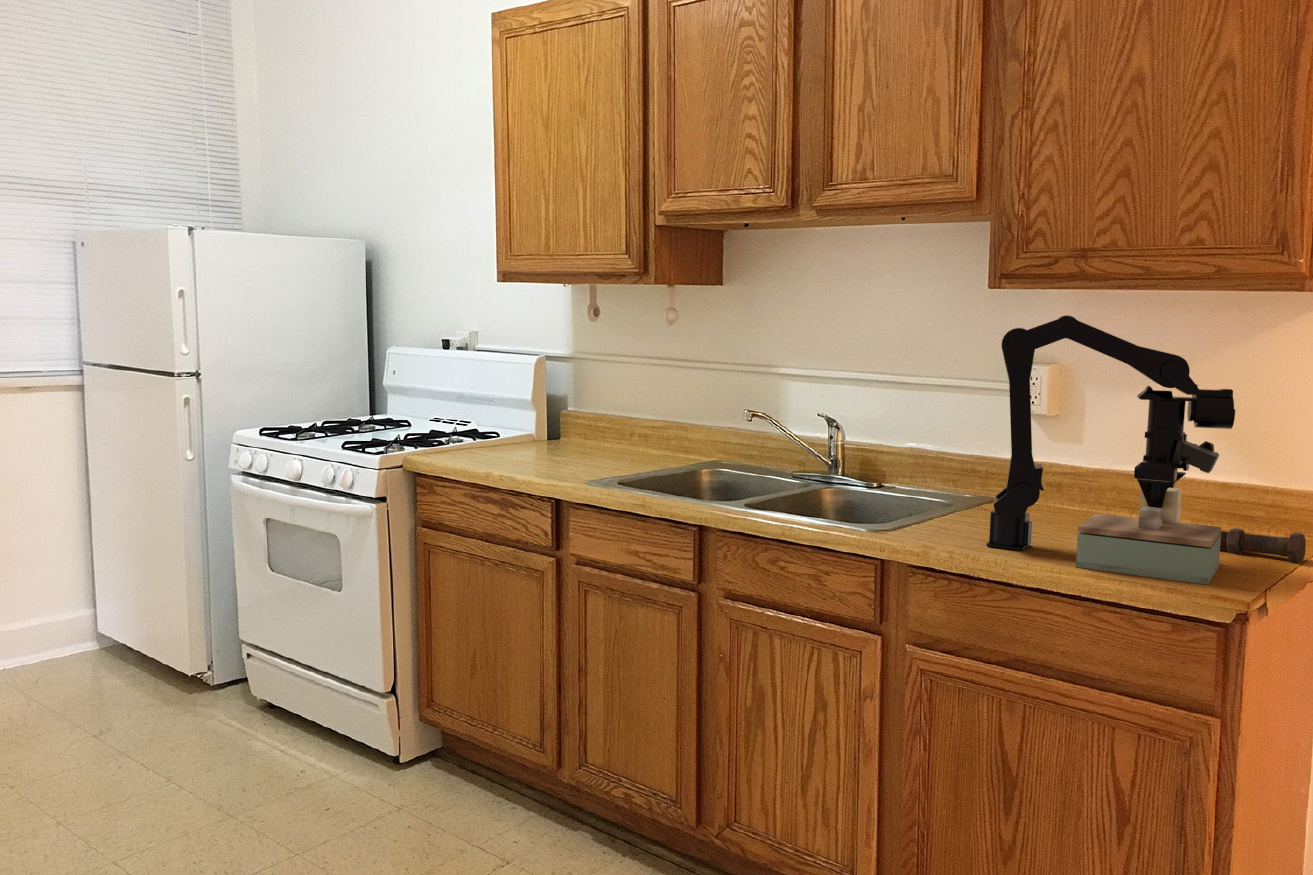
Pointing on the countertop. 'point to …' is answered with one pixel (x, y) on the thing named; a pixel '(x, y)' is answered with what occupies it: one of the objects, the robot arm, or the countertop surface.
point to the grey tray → (1148, 557)
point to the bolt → (1265, 544)
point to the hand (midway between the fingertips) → (1159, 514)
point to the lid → (1151, 528)
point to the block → (1168, 504)
